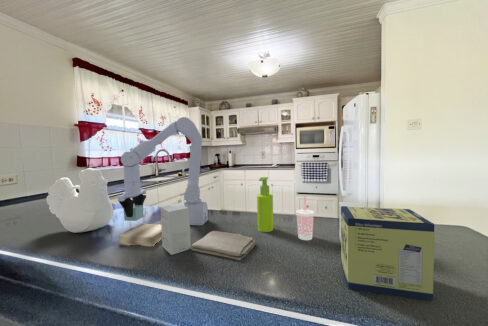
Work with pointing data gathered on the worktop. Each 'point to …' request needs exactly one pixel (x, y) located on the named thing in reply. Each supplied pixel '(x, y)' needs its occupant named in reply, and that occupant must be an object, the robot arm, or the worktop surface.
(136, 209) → the teal block
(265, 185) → the soap dispenser
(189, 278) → the worktop surface
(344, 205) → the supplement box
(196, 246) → the washcloth
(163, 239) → the small box
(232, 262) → the worktop surface
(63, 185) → the decorative rooster
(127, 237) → the birch plinth
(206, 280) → the worktop surface
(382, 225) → the protein box
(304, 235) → the beverage cup
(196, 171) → the robot arm
